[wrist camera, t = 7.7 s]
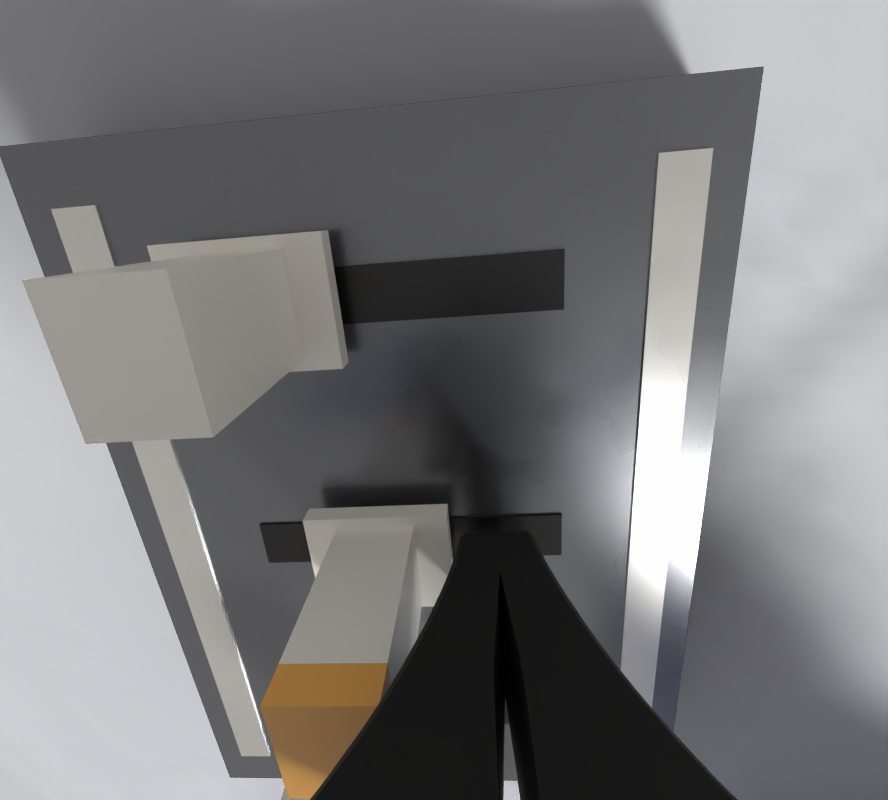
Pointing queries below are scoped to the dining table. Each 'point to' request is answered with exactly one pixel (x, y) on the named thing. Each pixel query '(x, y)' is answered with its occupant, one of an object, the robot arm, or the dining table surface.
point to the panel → (440, 350)
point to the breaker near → (190, 332)
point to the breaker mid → (352, 630)
